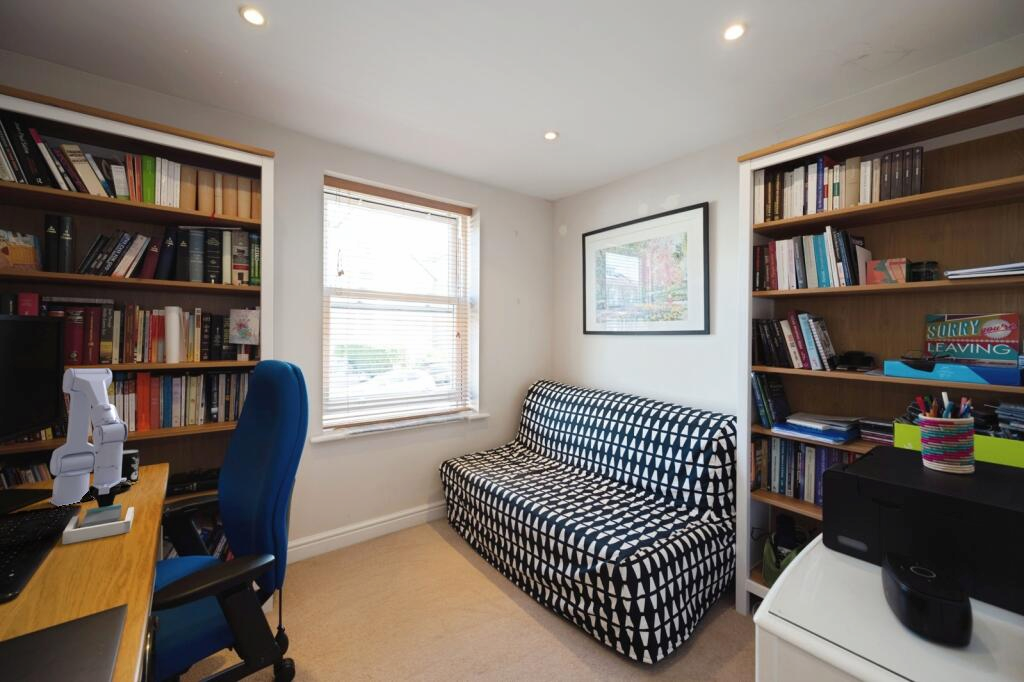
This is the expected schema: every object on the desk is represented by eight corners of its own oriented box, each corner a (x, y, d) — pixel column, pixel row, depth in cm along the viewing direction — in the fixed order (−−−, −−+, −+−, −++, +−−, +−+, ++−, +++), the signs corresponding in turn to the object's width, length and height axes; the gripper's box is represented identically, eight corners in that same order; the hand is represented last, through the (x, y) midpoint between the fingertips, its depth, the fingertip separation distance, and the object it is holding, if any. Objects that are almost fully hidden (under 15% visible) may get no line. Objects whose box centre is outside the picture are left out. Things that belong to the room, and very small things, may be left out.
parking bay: (72, 527, 112) (72, 516, 112) (133, 517, 120) (134, 506, 120) (62, 544, 103) (63, 532, 103) (129, 532, 110) (130, 520, 110)
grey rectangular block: (86, 523, 115) (87, 509, 115) (120, 518, 119) (121, 503, 119) (80, 536, 107) (81, 520, 107) (117, 529, 112) (117, 514, 112)
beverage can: (125, 487, 145) (127, 453, 146) (107, 487, 146) (109, 453, 146) (142, 482, 152) (144, 449, 152) (125, 481, 152) (127, 449, 153)
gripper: (124, 468, 116) (121, 517, 115) (129, 458, 127) (126, 502, 126) (89, 473, 111) (86, 523, 111) (97, 461, 122) (94, 507, 122)
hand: (105, 512), depth 118 cm, fingers closed
